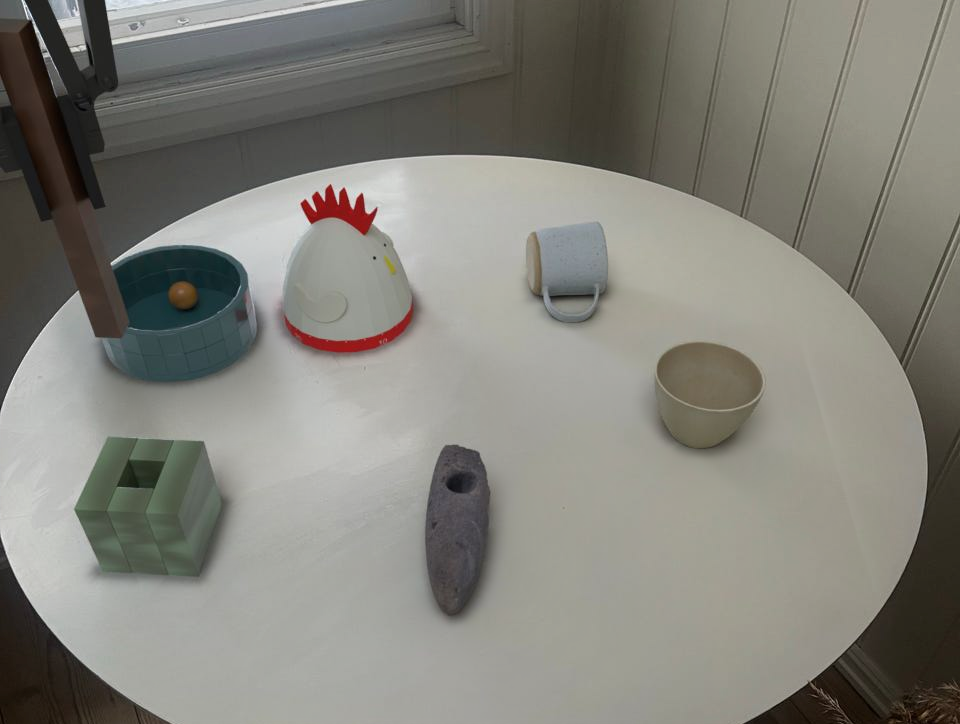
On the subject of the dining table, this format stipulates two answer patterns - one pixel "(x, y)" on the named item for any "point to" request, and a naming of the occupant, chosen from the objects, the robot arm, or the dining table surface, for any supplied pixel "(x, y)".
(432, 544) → the perforated stone tool
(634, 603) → the dining table surface
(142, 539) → the holder
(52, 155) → the stick
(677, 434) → the small beige bowl
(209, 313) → the bowl
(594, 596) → the dining table surface
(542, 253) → the ceramic mug
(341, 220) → the kitchen timer
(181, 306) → the bead
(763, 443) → the dining table surface
